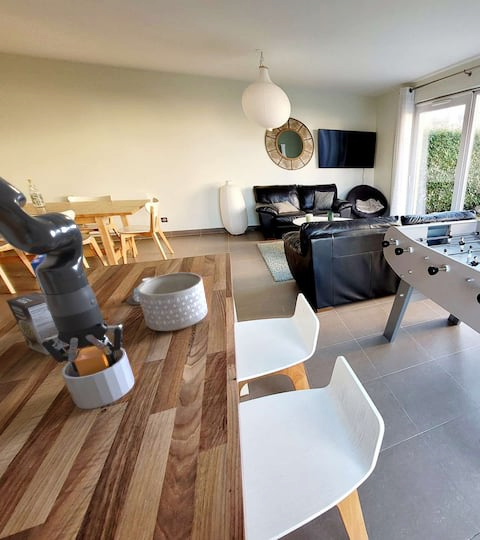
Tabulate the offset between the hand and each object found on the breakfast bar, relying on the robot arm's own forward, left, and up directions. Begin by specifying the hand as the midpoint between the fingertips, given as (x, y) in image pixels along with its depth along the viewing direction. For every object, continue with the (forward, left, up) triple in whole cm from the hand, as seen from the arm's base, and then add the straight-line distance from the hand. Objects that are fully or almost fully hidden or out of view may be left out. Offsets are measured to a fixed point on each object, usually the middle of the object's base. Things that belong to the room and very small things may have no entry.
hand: (97, 367), depth 69 cm
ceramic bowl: (0, 0, -7) cm, 7 cm away
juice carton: (0, 0, -5) cm, 5 cm away
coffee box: (-19, +28, -7) cm, 35 cm away
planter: (+14, +30, -7) cm, 34 cm away
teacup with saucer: (+1, +53, -7) cm, 53 cm away
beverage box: (-20, +48, -7) cm, 52 cm away
